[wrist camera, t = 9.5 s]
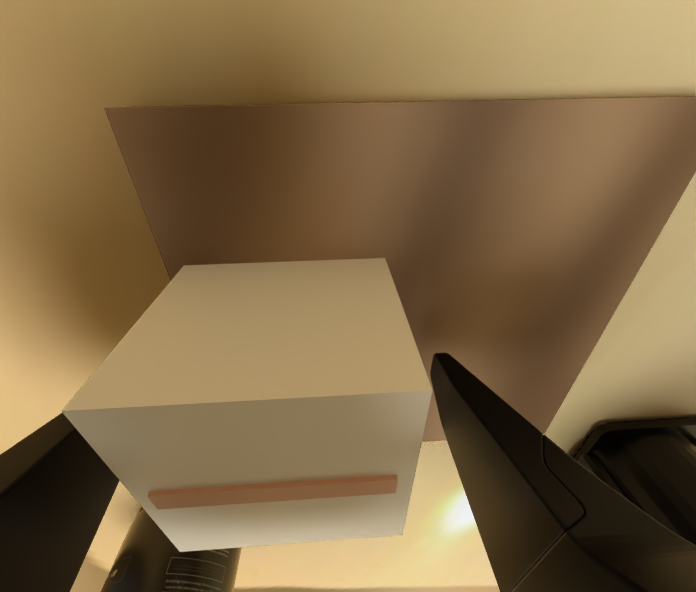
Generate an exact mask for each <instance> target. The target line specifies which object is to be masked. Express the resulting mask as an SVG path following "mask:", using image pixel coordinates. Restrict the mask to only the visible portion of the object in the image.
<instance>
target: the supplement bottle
mask: <svg viewBox="0 0 696 592" xmlns="http://www.w3.org/2000/svg"><path fill="white" fill-rule="evenodd" d="M241 548H242V547H239V548H225V549H212V550H199V551H185V552H180V551H179V550H178V549H177V548H176V547H175V545H174V544H173V543H172V542H171V541H170V539H169V538H168V537H167V536H166V535H165V534H164V532H163V531H162V530H161V529H160V528H159V526H158V525H157V524H156V523H155V522H154V520H153V519H152V518H151V517H150V516H149V515H148V513H147V512H146V511H145V510H144V509H143V510H141V511H140V512H139V513H138V515H137V516H136V517H135V519H134V521H133V522H132V524H131V527H130V529H129V531H128V533H127V535H126V537H125V539H124V541H123V544H122V546H121V548H120V550H119V553H118V555H117V557H116V559H115V561H114V564H113V566H112V568H111V570H110V572H109V575H108V577H107V579H106V581H105V584H104V586H103V588H102V590H101V592H233V590H234V585H235V579H236V574H237V569H238V563H239V558H240V553H241Z"/></svg>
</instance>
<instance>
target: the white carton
mask: <svg viewBox="0 0 696 592" xmlns="http://www.w3.org/2000/svg"><path fill="white" fill-rule="evenodd" d="M431 395H432V388H431V385H430V382H429V379H428V376H427V374H426V371H425V368H424V365H423V362H422V360H421V357H420V354H419V351H418V348H417V346H416V343H415V340H414V337H413V334H412V332H411V329H410V326H409V323H408V320H407V318H406V315H405V312H404V309H403V306H402V304H401V301H400V298H399V295H398V292H397V290H396V287H395V284H394V281H393V279H392V276H391V273H390V270H389V267H388V265H387V262H386V259H385V258H368V259H341V260H315V261H288V262H262V263H235V264H208V265H184V266H183V267H182V268H181V269H180V271H179V272H178V273H177V274H176V275H175V277H174V278H173V279H172V280H171V281H170V283H169V284H168V285H167V286H166V287H165V288H164V290H163V291H162V292H161V293H160V294H159V296H158V297H157V298H156V299H155V300H154V302H153V303H152V304H151V305H150V306H149V307H148V309H147V310H146V311H145V312H144V313H143V315H142V316H141V317H140V318H139V319H138V321H137V322H136V323H135V324H134V325H133V326H132V328H131V329H130V330H129V331H128V332H127V334H126V335H125V336H124V337H123V338H122V340H121V341H120V342H119V343H118V344H117V345H116V347H115V348H114V349H113V350H112V351H111V353H110V354H109V355H108V356H107V357H106V359H105V360H104V361H103V362H102V363H101V364H100V366H99V367H98V368H97V369H96V370H95V372H94V373H93V374H92V375H91V376H90V378H89V379H88V380H87V381H86V382H85V384H84V385H83V386H82V387H81V388H80V389H79V391H78V392H77V393H76V394H75V395H74V397H73V398H72V399H71V400H70V401H69V403H68V404H67V405H66V406H65V407H64V408H63V410H62V412H63V414H64V415H65V416H66V417H67V418H68V420H69V421H70V422H71V423H72V424H73V426H74V427H75V428H76V429H77V430H78V431H79V433H80V434H81V435H82V436H83V437H84V439H85V440H86V441H87V442H88V443H89V444H90V446H91V447H92V448H93V449H94V450H95V452H96V453H97V454H98V455H99V456H100V458H101V459H102V460H103V461H104V462H105V463H106V465H107V466H108V467H109V468H110V469H111V471H112V472H113V473H114V474H115V475H116V477H117V478H118V479H119V480H120V481H121V482H122V484H123V485H124V486H125V487H126V488H127V490H128V491H129V492H130V493H131V494H132V496H133V497H134V498H135V499H136V500H137V501H138V503H139V504H140V505H141V506H142V507H143V509H144V510H145V511H146V512H147V513H148V515H149V516H150V517H151V518H152V519H153V520H154V522H155V523H156V524H157V525H158V526H159V528H160V529H161V530H162V531H163V532H164V534H165V535H166V536H167V537H168V538H169V539H170V541H171V542H172V543H173V544H174V545H175V547H176V548H177V549H178V550H179V551H180V552H185V551H199V550H212V549H225V548H239V547H252V546H265V545H279V544H292V543H305V542H319V541H332V540H345V539H359V538H372V537H385V536H399V535H402V534H403V529H404V524H405V520H406V515H407V510H408V505H409V500H410V496H411V491H412V486H413V481H414V476H415V472H416V467H417V462H418V457H419V453H420V448H421V443H422V438H423V433H424V429H425V424H426V419H427V414H428V409H429V405H430V400H431Z"/></svg>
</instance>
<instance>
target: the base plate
mask: <svg viewBox="0 0 696 592" xmlns="http://www.w3.org/2000/svg"><path fill="white" fill-rule="evenodd" d="M104 109H105V111H106V114H107V116H108V119H109V122H110V124H111V127H112V129H113V132H114V135H115V137H116V140H117V142H118V145H119V148H120V150H121V153H122V155H123V158H124V160H125V163H126V166H127V168H128V171H129V173H130V176H131V179H132V181H133V184H134V186H135V189H136V191H137V194H138V197H139V199H140V202H141V204H142V207H143V210H144V212H145V215H146V217H147V220H148V223H149V225H150V228H151V230H152V233H153V235H154V238H155V241H156V243H157V246H158V248H159V251H160V254H161V256H162V259H163V261H164V264H165V266H166V269H167V272H168V274H169V277H170V279H171V280H172V279H173V278H174V277H175V275H176V274H177V273H178V272H179V271H180V269H181V268H182V267H183V266H184V265H208V264H235V263H262V262H288V261H315V260H341V259H368V258H385V259H386V262H387V265H388V267H389V270H390V273H391V276H392V279H393V281H394V284H395V287H396V290H397V292H398V295H399V298H400V301H401V304H402V306H403V309H404V312H405V315H406V318H407V320H408V323H409V326H410V329H411V332H412V334H413V337H414V340H415V343H416V346H417V348H418V351H419V354H420V357H421V360H422V362H423V365H424V368H425V371H426V374H427V376H428V379H429V382H430V385H431V388H432V395H431V400H430V405H429V409H428V414H427V419H426V424H425V429H424V433H423V438H422V442H424V441H440V440H447V439H446V436H445V433H444V430H443V427H442V424H441V420H440V416H439V412H438V408H437V403H436V399H435V395H434V390H433V386H432V382H431V377H430V370H431V365H432V360H433V356H434V354H435V353H448V354H450V355H451V356H452V357H453V358H455V359H456V360H457V361H458V362H459V363H460V364H462V365H463V366H464V367H465V368H466V369H467V370H469V371H470V372H471V373H472V374H473V375H475V376H476V377H477V378H478V379H479V380H480V381H482V382H483V383H484V384H485V385H486V386H488V387H489V388H490V389H491V390H492V391H493V392H495V393H496V394H497V395H498V396H499V397H501V398H502V399H503V400H504V401H505V402H506V403H508V404H509V405H510V406H511V407H512V408H513V409H515V410H516V411H517V412H518V413H519V414H521V415H522V416H523V417H524V418H525V419H526V420H528V421H529V422H530V423H531V424H532V425H534V426H535V427H536V428H537V429H538V430H539V431H541V432H542V434H544V433H545V432H546V430H547V428H548V427H549V425H550V423H551V421H552V420H553V418H554V416H555V414H556V413H557V411H558V409H559V407H560V406H561V404H562V402H563V401H564V399H565V397H566V395H567V394H568V392H569V390H570V388H571V387H572V385H573V383H574V381H575V380H576V378H577V376H578V375H579V373H580V371H581V369H582V368H583V366H584V364H585V362H586V361H587V359H588V357H589V355H590V354H591V352H592V350H593V349H594V347H595V345H596V343H597V342H598V340H599V338H600V336H601V335H602V333H603V331H604V329H605V328H606V326H607V324H608V323H609V321H610V319H611V317H612V316H613V314H614V312H615V310H616V309H617V307H618V305H619V303H620V302H621V300H622V298H623V297H624V295H625V293H626V291H627V290H628V288H629V286H630V284H631V283H632V281H633V279H634V277H635V276H636V274H637V272H638V271H639V269H640V267H641V265H642V264H643V262H644V260H645V258H646V257H647V255H648V253H649V251H650V250H651V248H652V246H653V245H654V243H655V241H656V239H657V238H658V236H659V234H660V232H661V231H662V229H663V227H664V225H665V224H666V222H667V220H668V219H669V217H670V215H671V213H672V212H673V210H674V208H675V206H676V205H677V203H678V201H679V199H680V198H681V196H682V194H683V193H684V191H685V189H686V187H687V186H688V184H689V182H690V180H691V179H692V177H693V175H694V173H695V172H696V96H680V97H627V98H574V99H520V100H467V101H414V102H360V103H307V104H254V105H200V106H147V107H117V108H104Z"/></svg>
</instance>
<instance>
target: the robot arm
mask: <svg viewBox="0 0 696 592" xmlns="http://www.w3.org/2000/svg"><path fill="white" fill-rule="evenodd" d="M430 377H431V382H432V386H433V390H434V395H435V399H436V403H437V408H438V412H439V416H440V420H441V424H442V427H443V430H444V433H445V436H446V439H447V442H448V445H449V447H450V450H451V453H452V456H453V459H454V462H455V464H456V467H457V470H458V473H459V476H460V479H461V481H462V484H463V487H464V490H465V493H466V496H467V498H468V501H469V504H470V507H471V510H472V513H473V515H474V518H475V521H476V524H477V527H478V530H479V533H480V535H481V538H482V541H483V544H484V547H485V550H486V552H487V555H488V558H489V561H490V564H491V567H492V569H493V572H494V575H495V578H496V581H497V584H498V586H499V589H500V592H696V418H685V419H669V420H653V421H637V422H622V423H607V424H603V425H600V426H598V427H597V428H596V429H595V430H594V431H593V433H592V434H591V435H590V437H589V438H588V440H587V441H586V442H585V444H584V445H583V446H582V448H581V449H580V451H579V452H578V453H577V455H576V456H575V458H574V459H573V458H572V457H571V456H570V455H568V454H567V453H566V452H565V451H563V450H562V449H561V448H560V447H558V446H557V445H556V444H555V443H554V442H553V441H551V440H550V439H549V438H548V437H547V436H545V435H543V434H542V432H541V431H539V430H538V429H537V428H536V427H535V426H534V425H532V424H531V423H530V422H529V421H528V420H526V419H525V418H524V417H523V416H522V415H521V414H519V413H518V412H517V411H516V410H515V409H513V408H512V407H511V406H510V405H509V404H508V403H506V402H505V401H504V400H503V399H502V398H501V397H499V396H498V395H497V394H496V393H495V392H493V391H492V390H491V389H490V388H489V387H488V386H486V385H485V384H484V383H483V382H482V381H480V380H479V379H478V378H477V377H476V376H475V375H473V374H472V373H471V372H470V371H469V370H467V369H466V368H465V367H464V366H463V365H462V364H460V363H459V362H458V361H457V360H456V359H455V358H453V357H452V356H451V355H450V354H448V353H435V354H434V356H433V360H432V365H431V370H430ZM118 483H119V479H118V478H117V477H116V475H115V474H114V473H113V472H112V471H111V469H110V468H109V467H108V466H107V465H106V463H105V462H104V461H103V460H102V459H101V458H100V456H99V455H98V454H97V453H96V452H95V450H94V449H93V448H92V447H91V446H90V444H89V443H88V442H87V441H86V440H85V439H84V437H83V436H82V435H81V434H80V433H79V431H78V430H77V429H76V428H75V427H74V426H73V424H72V423H71V422H70V421H69V420H68V418H67V417H66V416H65V415H64V414H63V413H61V414H60V415H58V416H57V417H55V418H54V419H52V420H51V421H49V422H48V423H46V424H45V425H43V426H42V427H40V428H39V429H38V430H36V431H35V432H33V433H32V434H30V435H29V436H27V437H26V438H24V439H23V440H21V441H20V442H18V443H17V444H15V445H14V446H13V447H11V448H10V449H8V450H7V451H5V452H4V453H2V454H1V455H0V592H70V590H71V588H72V585H73V584H74V581H75V579H76V577H77V575H78V572H79V570H80V568H81V565H82V563H83V561H84V559H85V557H86V554H87V552H88V550H89V548H90V545H91V543H92V541H93V539H94V536H95V534H96V532H97V530H98V527H99V525H100V523H101V521H102V518H103V516H104V514H105V512H106V509H107V507H108V505H109V503H110V500H111V498H112V496H113V494H114V492H115V489H116V487H117V485H118Z"/></svg>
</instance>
